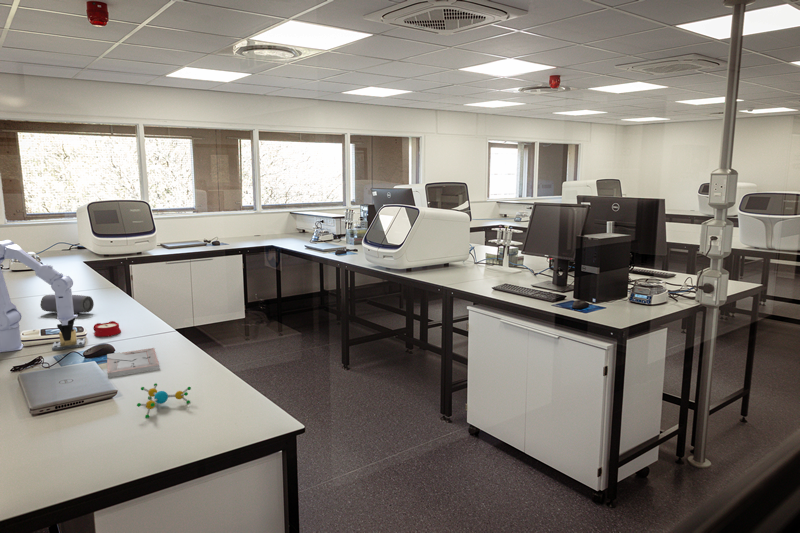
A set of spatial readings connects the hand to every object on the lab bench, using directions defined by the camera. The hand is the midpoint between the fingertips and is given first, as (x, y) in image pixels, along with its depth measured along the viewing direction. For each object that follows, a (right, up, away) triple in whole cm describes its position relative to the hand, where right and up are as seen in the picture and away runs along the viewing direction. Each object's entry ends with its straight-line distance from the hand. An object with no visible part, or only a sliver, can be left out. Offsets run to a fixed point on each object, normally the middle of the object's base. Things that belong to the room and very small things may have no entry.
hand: (68, 337), depth 212 cm
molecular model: (+63, -14, -54) cm, 84 cm away
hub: (0, -2, 0) cm, 2 cm away
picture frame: (+37, -8, -19) cm, 42 cm away
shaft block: (0, -3, +1) cm, 3 cm away
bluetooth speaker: (-32, +5, +50) cm, 60 cm away
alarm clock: (+5, -1, +19) cm, 20 cm away
